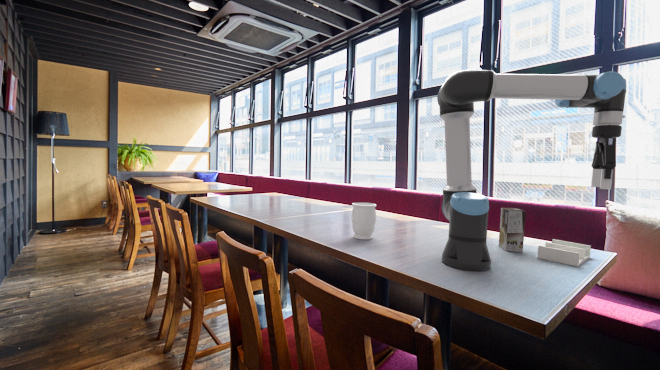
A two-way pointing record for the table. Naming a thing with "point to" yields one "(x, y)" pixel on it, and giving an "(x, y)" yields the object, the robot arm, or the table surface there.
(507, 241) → the coffee box
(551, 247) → the comb rack
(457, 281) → the table surface
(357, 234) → the jar
